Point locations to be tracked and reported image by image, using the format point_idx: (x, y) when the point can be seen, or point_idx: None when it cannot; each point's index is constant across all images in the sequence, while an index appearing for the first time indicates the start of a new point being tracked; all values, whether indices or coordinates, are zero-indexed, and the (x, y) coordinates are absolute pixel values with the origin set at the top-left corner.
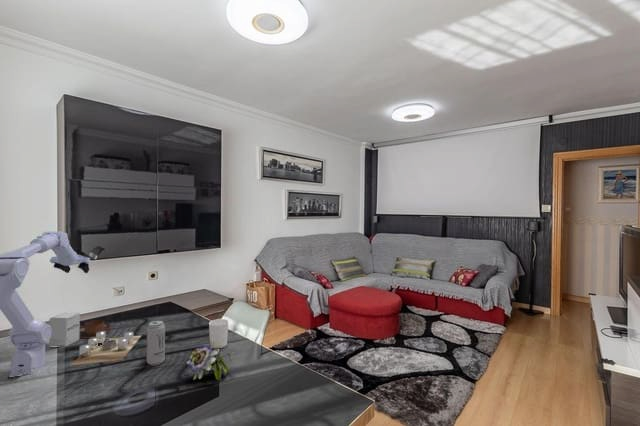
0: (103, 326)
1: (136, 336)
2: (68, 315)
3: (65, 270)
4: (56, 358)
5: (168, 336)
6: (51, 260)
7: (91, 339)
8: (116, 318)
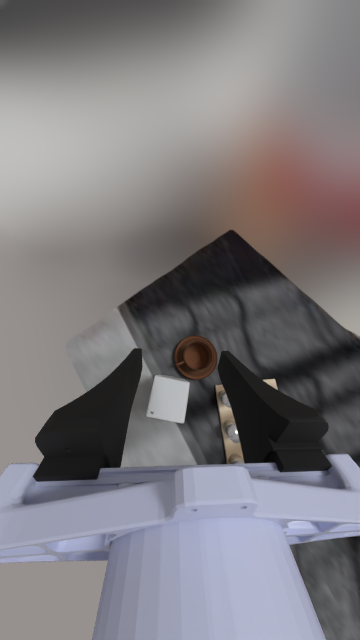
0: (210, 356)
1: (269, 382)
2: (178, 404)
3: (135, 391)
4: (189, 453)
5: (313, 382)
6: (5, 562)
7: (235, 438)
8: (188, 286)
